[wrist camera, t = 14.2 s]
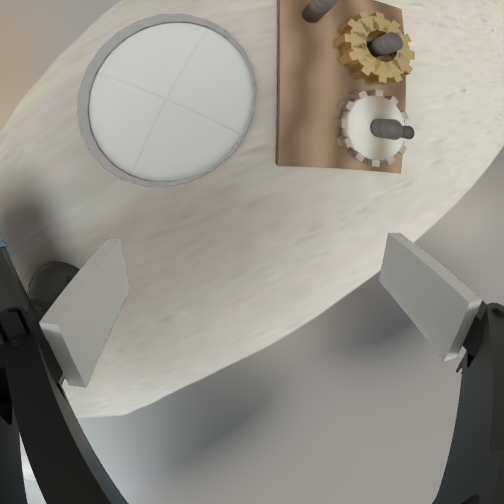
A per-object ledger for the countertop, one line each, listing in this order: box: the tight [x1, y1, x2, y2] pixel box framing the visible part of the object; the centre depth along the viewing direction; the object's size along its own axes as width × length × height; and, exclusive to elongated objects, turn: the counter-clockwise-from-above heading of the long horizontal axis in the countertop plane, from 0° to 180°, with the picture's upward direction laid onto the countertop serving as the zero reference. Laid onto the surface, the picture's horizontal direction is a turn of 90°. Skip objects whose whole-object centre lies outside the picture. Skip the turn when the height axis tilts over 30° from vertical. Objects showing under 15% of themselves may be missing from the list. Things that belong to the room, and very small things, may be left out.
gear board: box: [276, 0, 414, 174], centre depth 29 cm, size 18×26×9 cm
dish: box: [77, 14, 256, 187], centre depth 31 cm, size 22×22×5 cm
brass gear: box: [334, 11, 415, 85], centre depth 29 cm, size 10×10×4 cm
